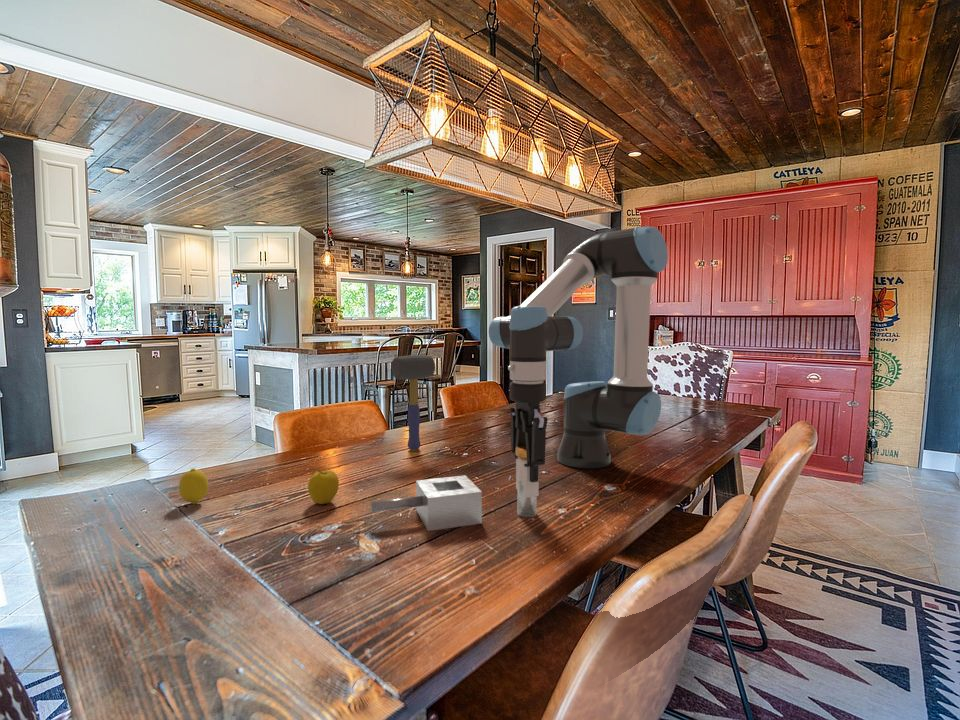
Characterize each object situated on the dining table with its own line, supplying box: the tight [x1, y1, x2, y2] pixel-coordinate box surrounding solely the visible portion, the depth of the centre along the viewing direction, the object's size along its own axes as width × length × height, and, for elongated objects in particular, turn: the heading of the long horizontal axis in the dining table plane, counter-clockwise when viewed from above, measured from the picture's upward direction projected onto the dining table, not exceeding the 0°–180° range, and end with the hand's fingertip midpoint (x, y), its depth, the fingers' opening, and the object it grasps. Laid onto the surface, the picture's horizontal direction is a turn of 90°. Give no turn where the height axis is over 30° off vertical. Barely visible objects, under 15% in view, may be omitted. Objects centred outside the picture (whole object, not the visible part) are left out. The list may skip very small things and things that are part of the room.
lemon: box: [178, 468, 209, 505], centre depth 107 cm, size 6×6×8 cm
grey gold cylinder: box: [516, 445, 538, 518], centre depth 101 cm, size 5×5×14 cm
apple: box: [307, 470, 340, 505], centre depth 107 cm, size 6×6×8 cm
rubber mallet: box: [391, 354, 436, 452], centre depth 151 cm, size 12×8×30 cm, turn 126°
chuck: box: [370, 475, 483, 532], centre depth 98 cm, size 21×11×6 cm, turn 109°
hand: (526, 492), depth 102 cm, fingers closed on grey gold cylinder, 4 cm apart
